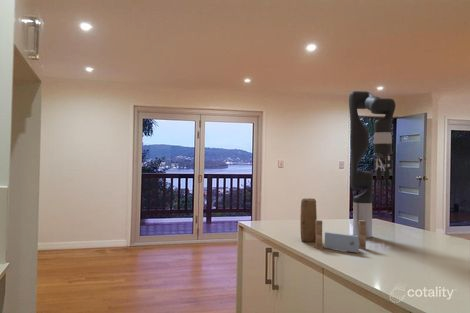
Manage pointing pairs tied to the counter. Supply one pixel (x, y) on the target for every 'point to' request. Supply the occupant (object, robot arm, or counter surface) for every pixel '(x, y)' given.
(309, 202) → the brown bread loaf
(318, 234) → the frame
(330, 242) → the door
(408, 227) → the counter surface
